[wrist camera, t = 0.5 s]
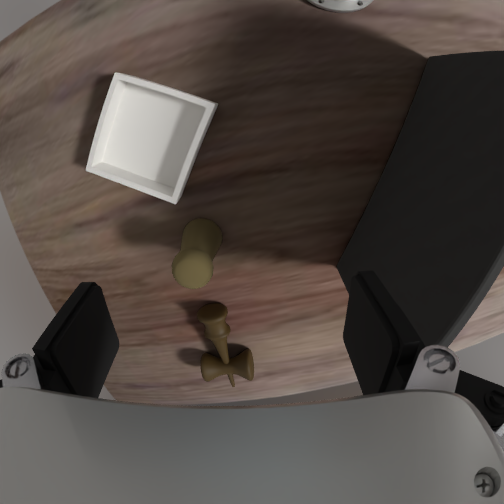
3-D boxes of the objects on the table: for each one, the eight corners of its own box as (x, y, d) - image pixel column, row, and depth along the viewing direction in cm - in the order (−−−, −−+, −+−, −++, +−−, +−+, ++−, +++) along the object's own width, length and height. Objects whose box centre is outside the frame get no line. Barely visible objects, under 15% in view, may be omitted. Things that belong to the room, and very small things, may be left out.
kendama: (241, 296, 52) (257, 374, 61) (186, 301, 53) (212, 377, 62) (239, 318, 47) (257, 396, 55) (179, 322, 48) (209, 398, 56)
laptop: (441, 301, 53) (507, 400, 30) (332, 264, 49) (388, 400, 25) (522, 139, 37) (628, 187, 14) (424, 55, 33) (565, 48, 9)
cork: (185, 255, 48) (169, 296, 38) (180, 218, 45) (162, 253, 35) (223, 254, 48) (217, 296, 38) (221, 217, 45) (213, 252, 35)
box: (126, 74, 35) (115, 72, 31) (218, 103, 37) (215, 103, 34) (97, 164, 41) (85, 170, 37) (181, 195, 43) (175, 204, 40)
